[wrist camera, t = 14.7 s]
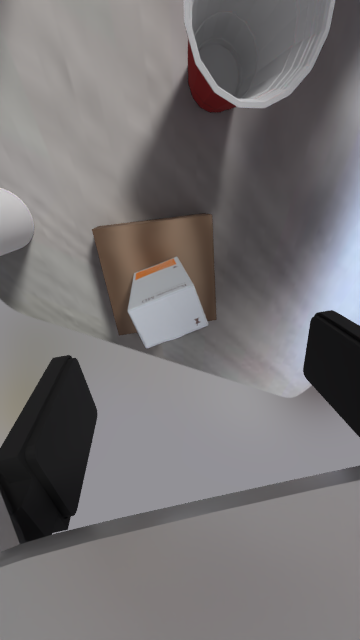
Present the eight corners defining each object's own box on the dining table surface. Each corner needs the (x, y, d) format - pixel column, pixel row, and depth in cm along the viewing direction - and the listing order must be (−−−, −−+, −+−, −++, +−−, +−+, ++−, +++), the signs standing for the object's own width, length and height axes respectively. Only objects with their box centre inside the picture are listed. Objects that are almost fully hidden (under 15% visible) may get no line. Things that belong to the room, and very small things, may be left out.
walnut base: (204, 213, 32) (212, 214, 28) (209, 308, 38) (216, 319, 35) (97, 226, 31) (92, 229, 27) (121, 322, 37) (118, 335, 33)
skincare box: (176, 254, 30) (196, 283, 19) (187, 285, 32) (210, 326, 21) (131, 272, 30) (125, 311, 19) (145, 302, 32) (146, 351, 21)
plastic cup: (201, 163, 29) (234, 140, 19) (144, 61, 25) (146, -48, 14) (278, 100, 28) (363, 35, 17) (232, -23, 23) (311, -218, 12)
